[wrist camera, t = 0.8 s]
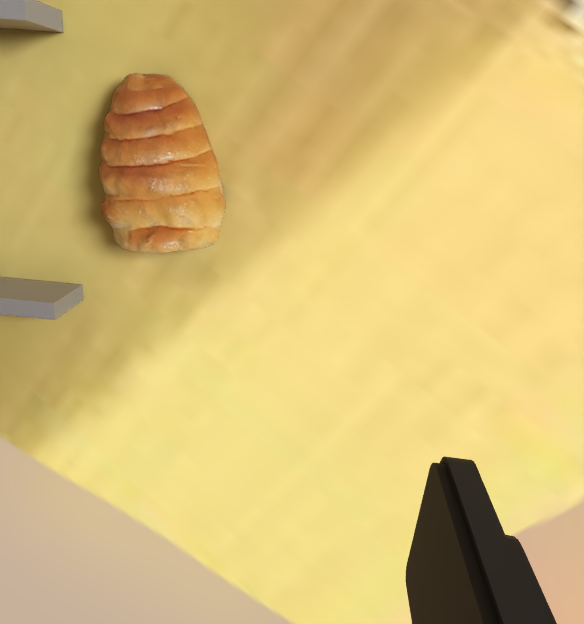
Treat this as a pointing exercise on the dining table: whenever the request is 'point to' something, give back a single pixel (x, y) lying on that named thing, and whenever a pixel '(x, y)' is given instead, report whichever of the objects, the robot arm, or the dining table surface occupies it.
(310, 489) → the dining table surface
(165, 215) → the pastry
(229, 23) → the dining table surface
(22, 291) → the gray u-shaped fence
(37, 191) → the dining table surface
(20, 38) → the dining table surface
